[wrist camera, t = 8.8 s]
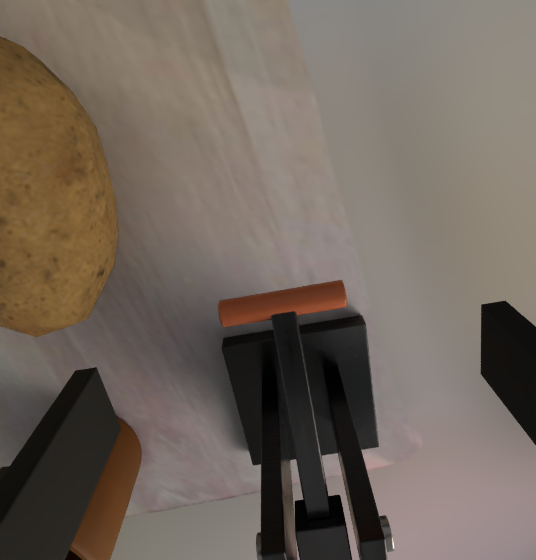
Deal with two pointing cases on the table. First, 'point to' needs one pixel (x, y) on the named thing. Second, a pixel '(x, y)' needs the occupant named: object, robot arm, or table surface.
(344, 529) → the lever
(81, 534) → the mug
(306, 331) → the bracket
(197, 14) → the table surface
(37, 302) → the potato
